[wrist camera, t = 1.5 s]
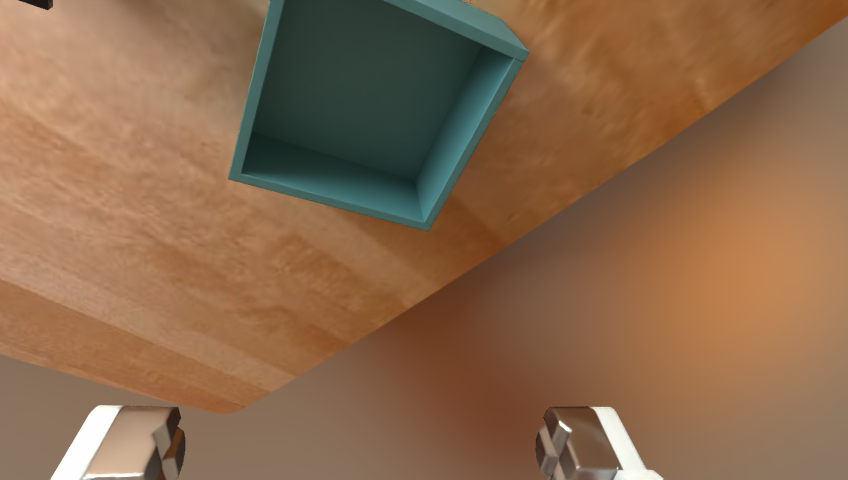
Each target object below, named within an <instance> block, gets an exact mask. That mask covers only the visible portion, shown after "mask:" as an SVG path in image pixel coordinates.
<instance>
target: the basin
mask: <svg viewBox="0 0 848 480" xmlns="http://www.w3.org/2000/svg"><path fill="white" fill-rule="evenodd" d="M528 54H529V51H528V50H527V48H526V47H525V46H524V45H523V44H522V43H521V41H520V40H519V39H518V38H517V37H516V36H515V35H514V33H513V32H512V31H511V30H510V29H509V28H508V26H507V25H506V24H505V23H504V22H503V21H502V20H501V19H499V18H497V17H495V16H493V15H491V14H488V13H486V12H484V11H482V10H480V9H478V8H476V7H473V6H471V5H469V4H467V3H465V2H463V1H461V0H270V2H269V6H268V11H267V15H266V19H265V23H264V28H263V32H262V36H261V40H260V44H259V49H258V53H257V57H256V61H255V66H254V70H253V74H252V78H251V83H250V87H249V91H248V95H247V100H246V104H245V108H244V112H243V116H242V121H241V125H240V129H239V133H238V138H237V142H236V146H235V150H234V155H233V159H232V163H231V167H230V172H229V176H228V179H229V180H233V181H237V182H241V183H244V184H248V185H252V186H256V187H260V188H264V189H267V190H271V191H275V192H279V193H283V194H287V195H290V196H294V197H298V198H302V199H306V200H309V201H313V202H317V203H321V204H325V205H329V206H332V207H336V208H340V209H344V210H348V211H352V212H355V213H359V214H363V215H367V216H371V217H374V218H378V219H382V220H386V221H390V222H394V223H397V224H401V225H405V226H409V227H413V228H417V229H420V230H424V231H429V230H430V228H431V226H432V224H433V222H434V221H435V219H436V217H437V215H438V214H439V212H440V210H441V208H442V206H443V205H444V203H445V201H446V199H447V198H448V196H449V194H450V192H451V190H452V189H453V187H454V185H455V183H456V182H457V180H458V178H459V176H460V174H461V173H462V171H463V169H464V167H465V165H466V164H467V162H468V160H469V158H470V157H471V155H472V153H473V151H474V149H475V148H476V146H477V144H478V142H479V141H480V139H481V137H482V135H483V133H484V132H485V130H486V128H487V126H488V125H489V123H490V121H491V119H492V117H493V116H494V114H495V112H496V110H497V109H498V107H499V105H500V103H501V101H502V100H503V98H504V96H505V94H506V92H507V91H508V89H509V87H510V85H511V84H512V82H513V80H514V78H515V76H516V75H517V73H518V71H519V69H520V68H521V66H522V64H523V62H524V61H525V59H526V57H527V55H528Z"/></svg>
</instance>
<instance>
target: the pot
mask: <svg viewBox="0 0 848 480" xmlns="http://www.w3.org/2000/svg"><path fill="white" fill-rule="evenodd" d="M19 1H22V2H25V3H28V4H31V5H34V6H37V7H40V8H43V9H46V10H49V9H50V8H52V7H53V0H19Z"/></svg>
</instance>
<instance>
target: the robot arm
mask: <svg viewBox="0 0 848 480" xmlns="http://www.w3.org/2000/svg"><path fill="white" fill-rule="evenodd" d="M543 418H544V421H545V424H546V425H545V426H543V427H542V428H541V429H539V431H538V434H537V437H536V446H535V447H536V448H535V452H536V458H537V462H538V466H539V469H540V472H541V473H542V474H543V475H544V476H545V477H546V478H547V479H548V480H664V479H663V478H662V477H661V476H660V475H658V474H657V473H656V472H655V471H653V470H647V469H646V468H645V466H644V464H643V462H642V460H641V458H640V456H639V454H638V452H637V451H636V449H635V447H634V445H633V443H632V441H631V439H630V437H629V436H628V434H627V432H626V430H625V428H624V426H623V424H622V422H621V421H620V419H619V417H618V415H617V413H616V411H615V410H613V408H612V407H549V408H548V409H547V410H546V412H545V415H544V417H543ZM180 419H181V416H180V412H179V408H178V407H153V406H109V405H107V406H106V405H105V406H104V405H100V406H99V405H98V406H97V407H96V408H95V409H94V410H93V411H92V412H91V413H90V414H89V416H88V418H87V419H86V421H85V422H84V424H83V426H82V428H81V430H80V431H79V433H78V434H77V436H76V438H75V439H74V441H73V443H72V444H71V446H70V448H69V449H68V451H67V453H66V454H65V456H64V458H63V460H62V461H61V463H60V465H59V466H58V468H57V470H56V471H55V473H54V475H53V476H52V478H51V480H176V479H177V478H178V477H179V474H180V471H181V468H182V465H183V460H184V455H185V434H184V431H183V430H181V429H180V428H179V427H178V424H179V421H180Z"/></svg>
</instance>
